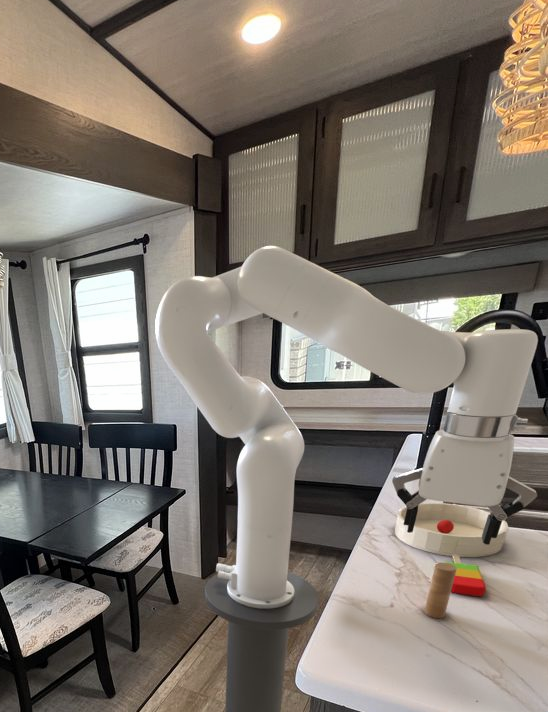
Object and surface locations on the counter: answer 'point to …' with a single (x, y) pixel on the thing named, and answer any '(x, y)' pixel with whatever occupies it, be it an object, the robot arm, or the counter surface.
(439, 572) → the brown cylinder
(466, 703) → the counter surface
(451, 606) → the counter surface
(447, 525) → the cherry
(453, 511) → the bowl
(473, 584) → the popsicle
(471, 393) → the robot arm
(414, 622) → the counter surface
